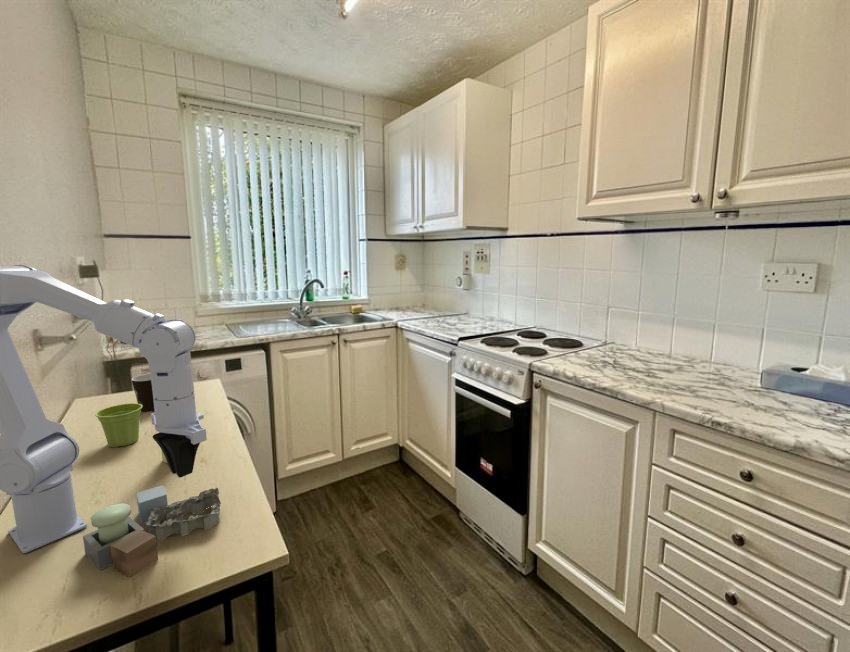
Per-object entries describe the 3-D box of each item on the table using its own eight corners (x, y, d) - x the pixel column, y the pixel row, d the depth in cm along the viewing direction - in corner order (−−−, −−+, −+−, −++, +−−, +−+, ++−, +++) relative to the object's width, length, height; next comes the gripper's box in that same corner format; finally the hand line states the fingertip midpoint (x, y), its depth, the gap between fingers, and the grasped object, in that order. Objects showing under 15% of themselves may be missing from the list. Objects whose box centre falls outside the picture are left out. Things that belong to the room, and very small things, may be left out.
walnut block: (113, 569, 59) (110, 545, 59) (141, 552, 63) (139, 528, 62) (130, 578, 58) (126, 553, 57) (158, 560, 61) (155, 536, 61)
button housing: (85, 553, 63) (82, 536, 62) (130, 532, 67) (128, 516, 67) (100, 570, 59) (97, 551, 59) (146, 546, 64) (144, 529, 64)
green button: (89, 541, 62) (86, 515, 62) (126, 524, 66) (123, 500, 66) (101, 553, 60) (97, 526, 59) (138, 535, 64) (135, 510, 63)
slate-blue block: (138, 513, 73) (136, 493, 72) (165, 505, 75) (162, 485, 75) (141, 524, 70) (139, 503, 69) (168, 515, 72) (166, 494, 72)
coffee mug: (141, 405, 128) (137, 374, 127) (172, 402, 131) (168, 372, 129) (126, 418, 118) (122, 385, 116) (160, 414, 120) (157, 382, 119)
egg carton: (223, 506, 75) (221, 485, 75) (219, 530, 68) (217, 508, 68) (155, 519, 71) (153, 497, 71) (144, 546, 64) (141, 523, 64)
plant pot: (90, 448, 99) (85, 414, 97) (128, 432, 108) (124, 401, 106) (118, 453, 96) (113, 418, 95) (155, 437, 105) (151, 404, 103)
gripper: (222, 396, 65) (228, 475, 67) (178, 382, 73) (185, 452, 76) (175, 409, 60) (184, 494, 62) (133, 392, 68) (142, 468, 70)
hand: (182, 472), depth 68 cm, fingers closed
